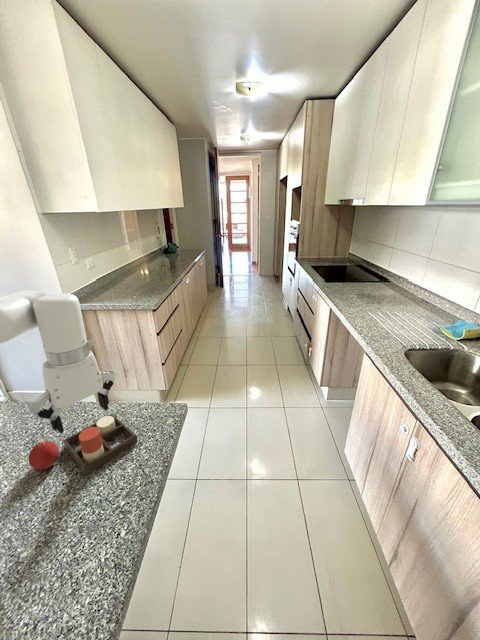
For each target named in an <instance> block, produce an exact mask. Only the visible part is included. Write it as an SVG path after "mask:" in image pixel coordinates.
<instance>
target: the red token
mask: <svg viewBox="0 0 480 640" xmlns="http://www.w3.org/2000/svg"><path fill="white" fill-rule="evenodd" d="M86 428H87V427H86ZM84 429H85V428H84ZM82 430H83V429H82ZM82 430H81V431H82ZM78 442H79V443H80V449H81V448H82V452H83V453H86V454H90V453H93V452H95V451H97V450H98V449H100V447H101V446H102V439H101V434H100V430H99V428H97V427H90V428H87V429H85V430H83V431H82V432H81V433H80V434H79V441H78Z"/></svg>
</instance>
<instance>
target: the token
mask: <svg viewBox="0 0 480 640" xmlns="http://www.w3.org/2000/svg"><path fill="white" fill-rule="evenodd" d="M96 422H97V423H96ZM96 422H95V423H96V425H97V428H99V430H100V434H101V436H103V435H104V434H106V433H108V432H109V431H111V430H113V429H115V428H116V427H117V426H116V425H115V421H114V418H113V417H112V416H109V415H105V416H102V417H100V418H99V419H98V420H97V421H96Z"/></svg>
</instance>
